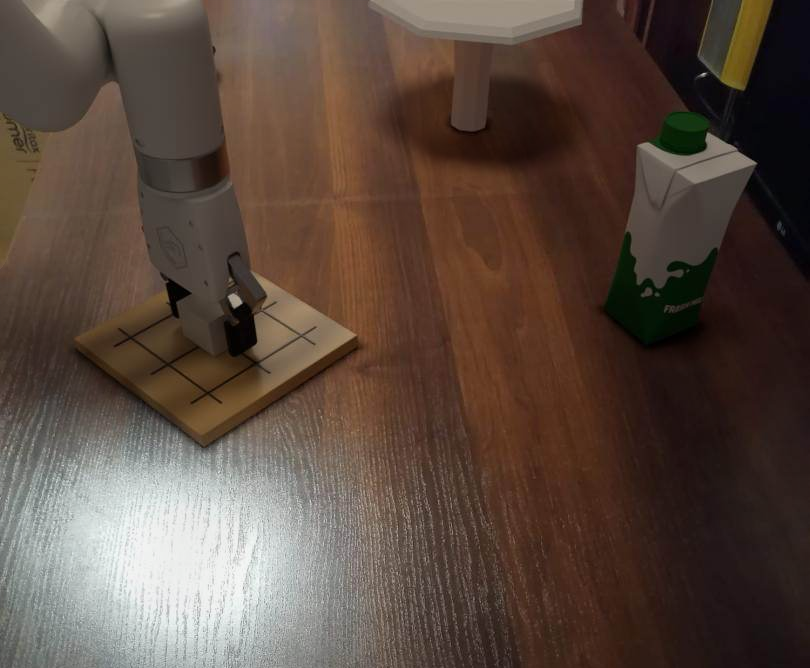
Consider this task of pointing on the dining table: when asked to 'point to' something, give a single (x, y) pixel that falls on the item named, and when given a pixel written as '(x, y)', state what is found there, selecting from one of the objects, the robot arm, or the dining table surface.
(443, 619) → the dining table surface
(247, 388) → the board
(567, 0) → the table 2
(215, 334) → the two-tone grey box
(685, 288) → the milk carton
